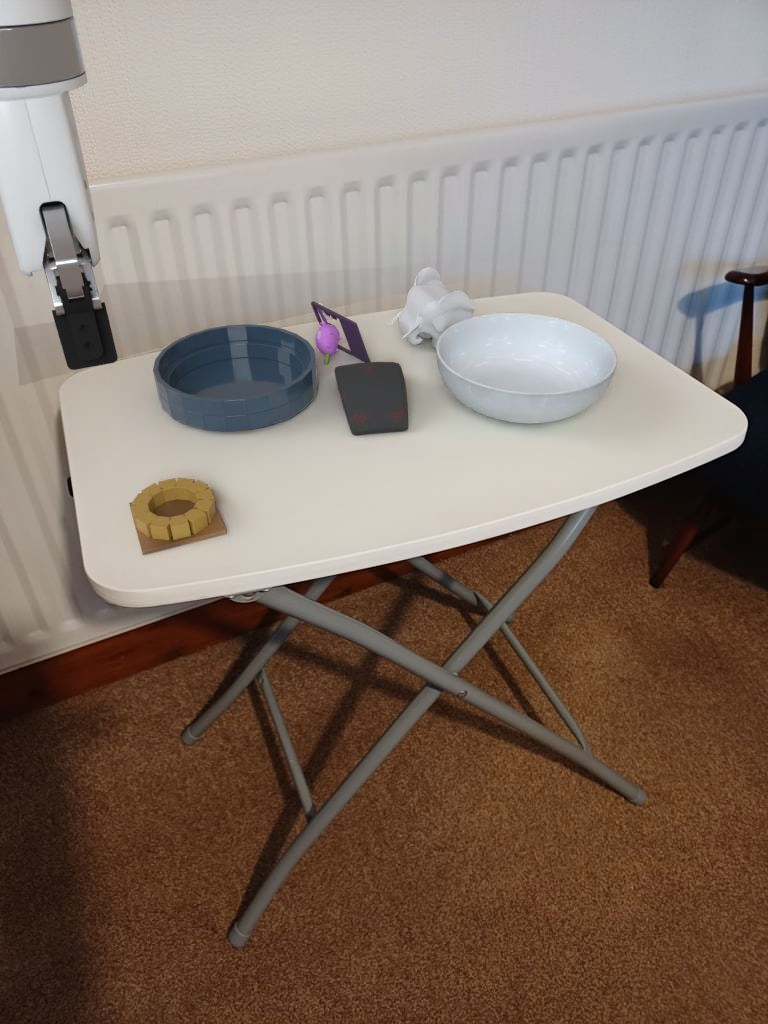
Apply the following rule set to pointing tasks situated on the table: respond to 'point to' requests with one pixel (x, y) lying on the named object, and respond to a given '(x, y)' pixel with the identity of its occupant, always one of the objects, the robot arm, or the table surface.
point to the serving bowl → (525, 366)
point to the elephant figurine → (432, 308)
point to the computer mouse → (373, 397)
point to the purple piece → (338, 335)
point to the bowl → (236, 377)
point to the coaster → (156, 545)
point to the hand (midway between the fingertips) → (85, 333)
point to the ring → (177, 524)
